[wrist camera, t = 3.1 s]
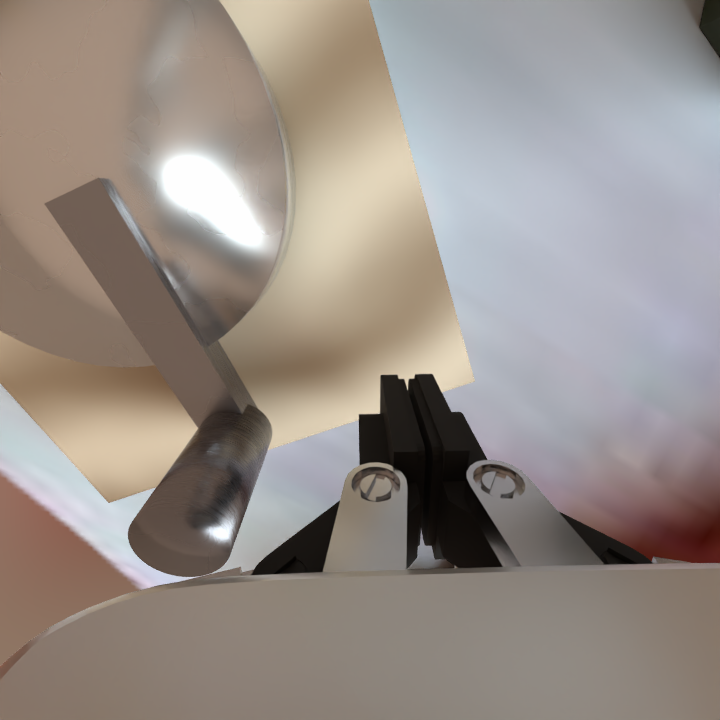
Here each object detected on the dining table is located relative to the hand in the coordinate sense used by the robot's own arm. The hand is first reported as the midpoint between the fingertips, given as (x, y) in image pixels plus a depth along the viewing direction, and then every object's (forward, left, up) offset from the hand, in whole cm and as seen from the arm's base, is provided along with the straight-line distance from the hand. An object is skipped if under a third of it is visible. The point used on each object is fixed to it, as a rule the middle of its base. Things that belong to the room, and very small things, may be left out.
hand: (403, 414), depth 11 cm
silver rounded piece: (-9, -6, -3) cm, 11 cm away
